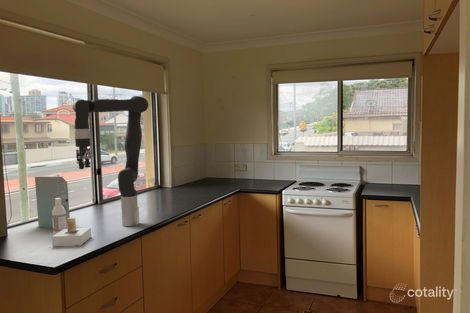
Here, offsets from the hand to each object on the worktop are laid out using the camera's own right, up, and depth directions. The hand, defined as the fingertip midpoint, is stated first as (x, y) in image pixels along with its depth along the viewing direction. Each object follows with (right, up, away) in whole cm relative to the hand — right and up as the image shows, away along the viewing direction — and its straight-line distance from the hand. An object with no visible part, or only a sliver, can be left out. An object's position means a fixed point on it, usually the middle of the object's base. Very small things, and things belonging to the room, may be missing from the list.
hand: (84, 168), depth 203 cm
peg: (-3, -37, -9) cm, 38 cm away
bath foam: (-15, -37, +5) cm, 40 cm away
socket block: (-3, -37, -9) cm, 38 cm away
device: (-28, -35, +24) cm, 51 cm away
